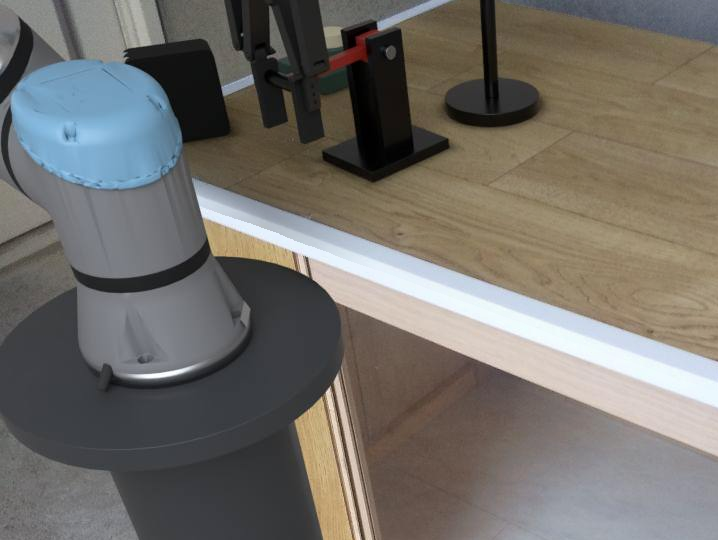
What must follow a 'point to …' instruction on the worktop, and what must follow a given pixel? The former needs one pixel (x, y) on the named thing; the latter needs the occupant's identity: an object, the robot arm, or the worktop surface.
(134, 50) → the electronic device
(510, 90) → the desk lamp
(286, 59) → the timer box
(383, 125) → the stand
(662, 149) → the worktop surface
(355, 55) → the switch lever
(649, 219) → the worktop surface
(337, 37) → the timer button
